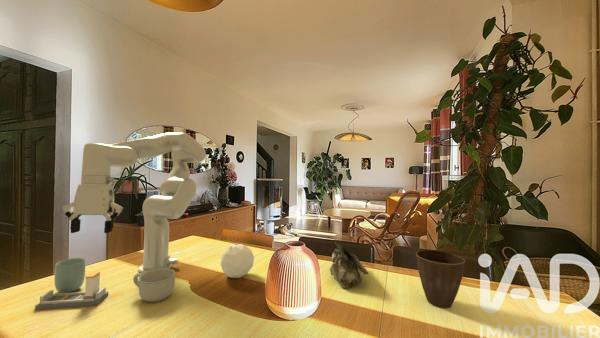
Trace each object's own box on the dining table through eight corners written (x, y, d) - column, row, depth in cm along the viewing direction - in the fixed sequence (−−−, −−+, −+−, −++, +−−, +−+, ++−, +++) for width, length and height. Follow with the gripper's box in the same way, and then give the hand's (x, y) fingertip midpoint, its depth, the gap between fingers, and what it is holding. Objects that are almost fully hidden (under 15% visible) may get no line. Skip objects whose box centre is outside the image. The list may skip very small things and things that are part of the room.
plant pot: (446, 319, 77) (447, 266, 77) (405, 297, 90) (406, 252, 91) (474, 308, 84) (474, 260, 84) (432, 289, 97) (433, 248, 98)
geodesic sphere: (235, 274, 92) (249, 238, 100) (206, 267, 97) (221, 234, 105) (252, 285, 103) (263, 252, 111) (224, 279, 108) (237, 248, 116)
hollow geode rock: (339, 274, 122) (318, 250, 123) (359, 256, 121) (338, 232, 123) (346, 302, 94) (319, 270, 95) (372, 279, 93) (344, 247, 95)
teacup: (181, 293, 88) (182, 270, 88) (154, 309, 78) (155, 283, 78) (151, 286, 93) (152, 264, 93) (122, 300, 82) (123, 275, 83)
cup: (65, 297, 83) (67, 266, 84) (47, 294, 85) (49, 264, 85) (89, 287, 91) (91, 259, 91) (72, 284, 92) (73, 257, 93)
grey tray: (108, 295, 86) (108, 285, 86) (96, 305, 79) (96, 295, 79) (52, 298, 82) (53, 288, 82) (34, 309, 75) (35, 299, 76)
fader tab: (100, 292, 84) (101, 271, 84) (93, 298, 80) (94, 276, 80) (90, 293, 83) (91, 271, 83) (82, 299, 79) (83, 276, 79)
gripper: (129, 181, 89) (126, 230, 89) (74, 179, 87) (70, 229, 86) (118, 181, 82) (114, 234, 81) (57, 179, 79) (52, 234, 78)
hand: (91, 232), depth 83 cm, fingers open, 9 cm apart
